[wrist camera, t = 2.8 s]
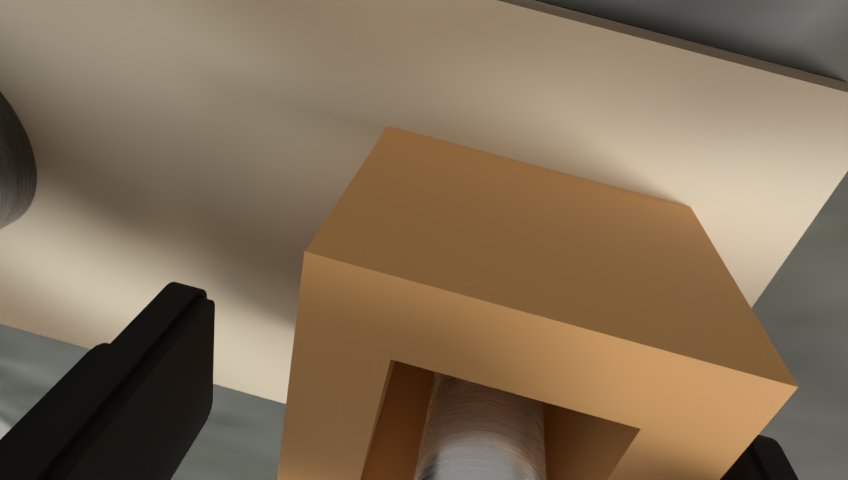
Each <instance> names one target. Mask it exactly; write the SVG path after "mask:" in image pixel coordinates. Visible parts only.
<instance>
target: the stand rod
mask: <svg viewBox="0 0 848 480" xmlns="http://www.w3.org/2000/svg"><path fill="white" fill-rule="evenodd" d="M414 480H546V470H545V447H544V424H543V402H542V401H539V400H535V399H532V398H528V397H524V396H521V395H517V394H514V393H510V392H506V391H503V390H499V389H496V388H492V387H488V386H485V385H481V384H478V383H474V382H470V381H467V380H463V379H460V378H456V377H452V376H449V375H445V374H442V373H438V372H435V373H434V378H433V383H432V388H431V393H430V399H429V404H428V409H427V414H426V419H425V424H424V429H423V435H422V440H421V445H420V450H419V455H418V460H417V465H416V471H415V476H414Z"/></svg>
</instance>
